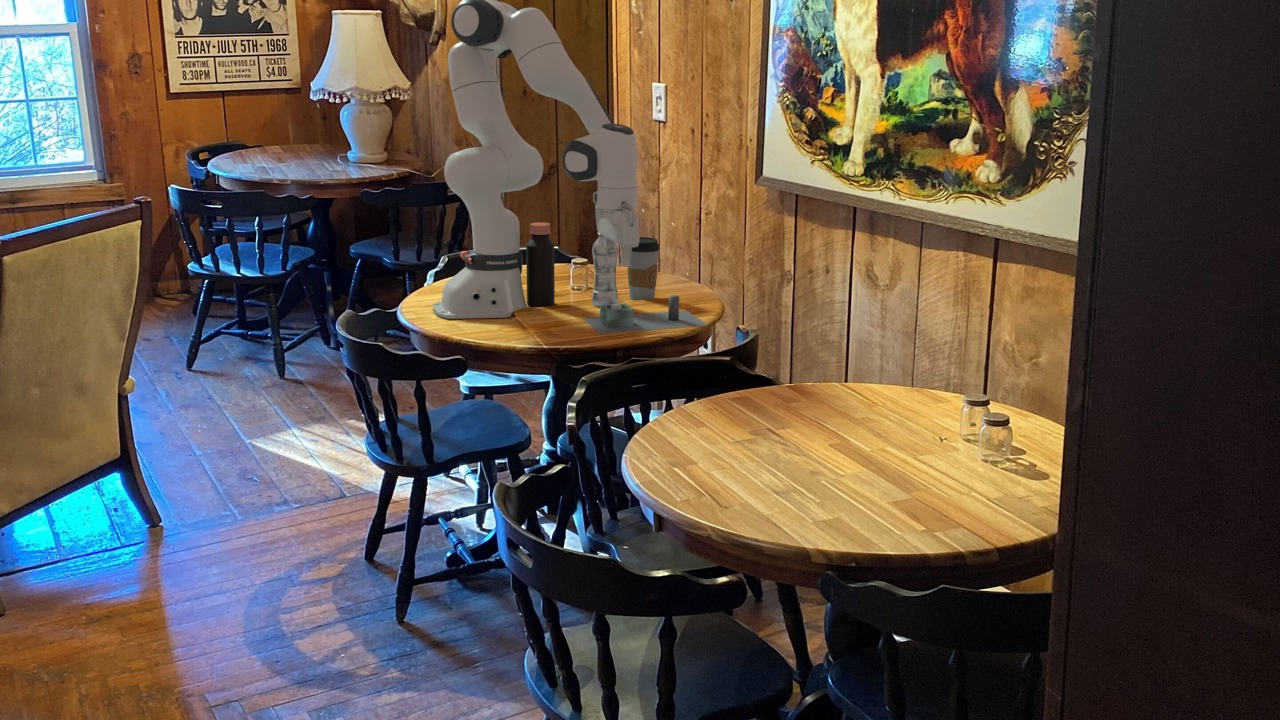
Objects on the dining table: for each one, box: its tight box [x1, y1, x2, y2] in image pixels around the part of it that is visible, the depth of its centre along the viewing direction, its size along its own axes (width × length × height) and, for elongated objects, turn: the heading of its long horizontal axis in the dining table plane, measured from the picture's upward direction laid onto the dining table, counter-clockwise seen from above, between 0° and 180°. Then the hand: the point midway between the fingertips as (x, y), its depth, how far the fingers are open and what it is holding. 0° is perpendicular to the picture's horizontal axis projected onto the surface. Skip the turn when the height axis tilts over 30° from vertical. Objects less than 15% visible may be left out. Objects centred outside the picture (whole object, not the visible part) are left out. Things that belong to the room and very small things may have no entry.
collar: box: [599, 302, 634, 328], centre depth 269 cm, size 6×6×4 cm
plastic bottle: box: [591, 232, 619, 308], centre depth 284 cm, size 6×7×20 cm
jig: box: [582, 294, 710, 335], centre depth 271 cm, size 26×14×6 cm, turn 109°
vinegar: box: [525, 221, 556, 308], centre depth 287 cm, size 7×7×20 cm
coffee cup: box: [627, 236, 660, 301], centre depth 295 cm, size 8×8×15 cm
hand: (617, 260), depth 265 cm, fingers open, 8 cm apart
